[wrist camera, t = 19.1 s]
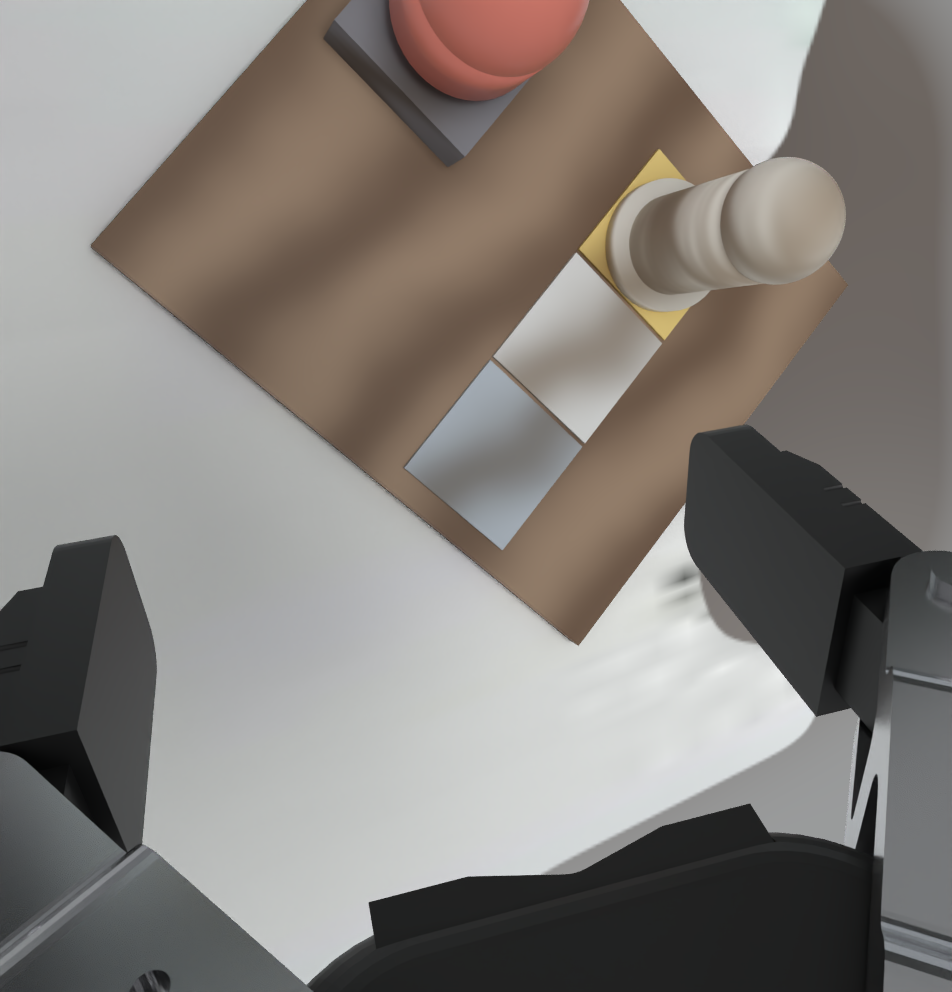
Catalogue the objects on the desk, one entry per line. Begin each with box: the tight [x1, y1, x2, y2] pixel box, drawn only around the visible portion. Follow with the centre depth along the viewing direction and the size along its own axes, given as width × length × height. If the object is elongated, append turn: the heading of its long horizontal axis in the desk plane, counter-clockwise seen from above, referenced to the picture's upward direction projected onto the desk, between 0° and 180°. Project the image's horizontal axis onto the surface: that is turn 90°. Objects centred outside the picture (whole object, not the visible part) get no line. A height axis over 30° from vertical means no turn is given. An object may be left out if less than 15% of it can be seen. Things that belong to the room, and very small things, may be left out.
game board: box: [91, 0, 848, 646], centre depth 37 cm, size 26×22×3 cm
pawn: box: [605, 157, 846, 312], centre depth 35 cm, size 6×6×10 cm
